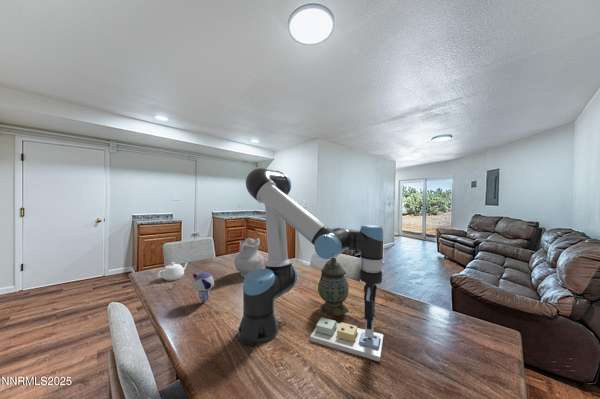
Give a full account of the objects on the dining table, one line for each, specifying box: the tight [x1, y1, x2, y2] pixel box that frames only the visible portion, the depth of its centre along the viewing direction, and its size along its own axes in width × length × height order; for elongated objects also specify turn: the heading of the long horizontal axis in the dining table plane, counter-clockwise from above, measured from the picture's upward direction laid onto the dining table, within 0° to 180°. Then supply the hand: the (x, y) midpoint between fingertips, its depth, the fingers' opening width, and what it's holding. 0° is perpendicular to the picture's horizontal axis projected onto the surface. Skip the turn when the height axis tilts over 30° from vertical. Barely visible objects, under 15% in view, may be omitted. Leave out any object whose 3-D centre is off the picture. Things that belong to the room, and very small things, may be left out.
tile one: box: [315, 316, 337, 336], centre depth 85 cm, size 6×6×3 cm
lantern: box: [317, 257, 350, 316], centre depth 105 cm, size 14×14×25 cm
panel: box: [309, 322, 384, 363], centre depth 82 cm, size 24×13×2 cm, turn 65°
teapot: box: [157, 261, 189, 282], centre depth 144 cm, size 20×12×10 cm, turn 150°
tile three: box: [360, 332, 380, 350], centre depth 79 cm, size 6×6×3 cm
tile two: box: [337, 322, 358, 342], centre depth 82 cm, size 6×6×3 cm
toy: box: [192, 271, 215, 304], centre depth 111 cm, size 11×10×15 cm
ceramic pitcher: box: [233, 237, 265, 278], centre depth 151 cm, size 22×20×25 cm
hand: (369, 336), depth 79 cm, fingers closed
